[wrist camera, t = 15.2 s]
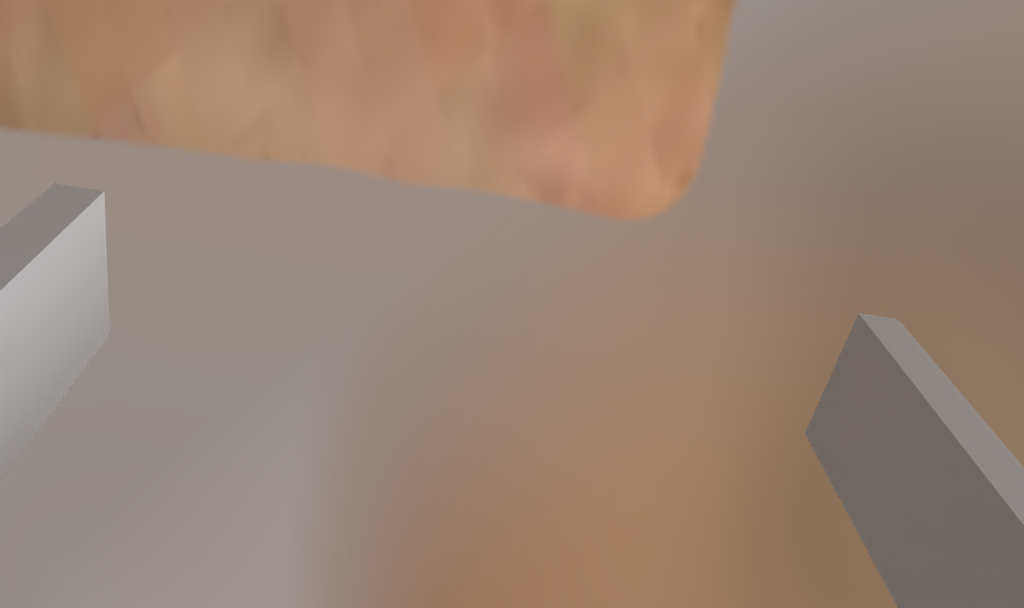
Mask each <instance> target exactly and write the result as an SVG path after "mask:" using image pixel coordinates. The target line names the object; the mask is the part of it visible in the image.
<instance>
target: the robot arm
mask: <svg viewBox="0 0 1024 608" xmlns="http://www.w3.org/2000/svg"><path fill="white" fill-rule="evenodd" d="M104 199H105V198H104V191H99V190H93V189H87V188H80V187H74V186H68V185H61V184H54V185H52V186H51V187H50V188H49V189H48V190H46V191H45V192H44V193H43V194H42V195H40V196H39V197H38V198H37V199H36V200H34V201H33V202H32V203H31V204H30V205H28V206H27V207H26V208H25V209H24V210H22V211H21V212H20V213H19V214H17V215H16V216H15V217H14V218H13V219H11V220H10V221H9V222H8V223H7V224H5V225H4V226H3V227H2V228H1V229H0V482H1V481H2V480H3V478H4V477H5V476H6V474H7V473H8V472H9V470H10V469H11V468H12V466H13V465H14V464H15V462H16V461H17V459H18V458H19V457H20V455H21V454H22V453H23V451H24V450H25V448H26V447H27V446H28V444H29V443H30V442H31V441H32V439H33V438H34V436H35V435H36V434H37V432H38V431H39V430H40V428H41V427H42V426H43V424H44V423H45V422H46V420H47V419H48V417H49V416H50V415H51V413H52V412H53V411H54V409H55V408H56V407H57V405H58V404H59V403H60V401H61V400H62V398H63V397H64V396H65V394H66V393H67V392H68V390H69V389H70V388H71V386H72V385H73V383H74V382H75V381H76V380H77V378H78V377H79V375H80V374H81V373H82V371H83V370H84V369H85V367H86V366H87V365H88V363H89V362H90V361H91V359H92V358H93V356H94V355H95V354H96V352H97V351H98V350H99V348H100V347H101V346H102V344H103V343H104V342H105V340H106V339H107V338H108V336H109V335H110V334H109V310H108V309H109V306H108V281H107V252H106V225H105V200H104ZM805 435H806V436H807V438H808V440H809V442H810V444H811V446H812V448H813V450H814V451H815V453H816V455H817V457H818V459H819V461H820V463H821V464H822V466H823V468H824V470H825V472H826V474H827V476H828V478H829V480H830V481H831V483H832V485H833V487H834V489H835V491H836V493H837V494H838V496H839V498H840V500H841V502H842V504H843V506H844V508H845V510H846V511H847V513H848V515H849V517H850V519H851V521H852V523H853V525H854V526H855V528H856V530H857V532H858V534H859V536H860V538H861V539H862V541H863V543H864V545H865V547H866V549H867V550H868V553H869V555H870V556H871V558H872V560H873V562H874V564H875V566H876V568H877V569H878V571H879V573H880V575H881V577H882V579H883V581H884V582H885V584H886V586H887V588H888V590H889V592H890V594H891V596H892V597H893V599H894V601H895V603H896V605H897V607H898V608H1024V467H1023V466H1022V465H1021V464H1020V463H1019V462H1018V460H1017V459H1016V458H1015V457H1014V456H1013V454H1012V453H1011V452H1010V451H1009V450H1008V448H1007V447H1006V446H1005V445H1004V444H1003V443H1002V442H1001V440H1000V439H999V438H998V437H997V435H996V434H995V433H994V432H993V431H992V430H991V428H990V427H989V426H988V425H987V424H986V423H985V421H984V420H983V419H982V418H981V417H980V415H979V414H978V413H977V412H976V411H975V410H974V408H973V407H972V406H971V405H970V404H969V403H968V401H967V400H966V399H965V398H964V397H963V395H962V394H961V393H960V392H959V391H958V390H957V388H956V387H955V386H954V385H953V384H952V382H951V381H950V380H949V379H948V378H947V377H946V376H945V374H944V373H943V372H942V371H941V370H940V368H939V367H938V366H937V365H936V364H935V362H934V361H933V360H932V359H931V358H930V357H929V355H928V354H926V352H925V351H924V349H923V348H922V347H921V346H920V345H919V344H918V343H917V341H916V340H915V339H914V338H913V336H911V334H910V333H909V332H908V331H907V329H906V328H905V327H904V326H903V325H902V324H901V322H900V321H899V320H897V319H892V318H886V317H879V316H873V315H867V314H861V313H858V316H857V318H856V320H855V322H854V325H853V327H852V329H851V331H850V334H849V336H848V338H847V340H846V343H845V345H844V347H843V349H842V352H841V354H840V356H839V358H838V361H837V363H836V365H835V367H834V370H833V372H832V374H831V377H830V379H829V381H828V383H827V385H826V388H825V390H824V392H823V394H822V397H821V399H820V401H819V403H818V406H817V408H816V410H815V412H814V415H813V417H812V419H811V421H810V424H809V426H808V428H807V430H806V433H805Z"/></svg>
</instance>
